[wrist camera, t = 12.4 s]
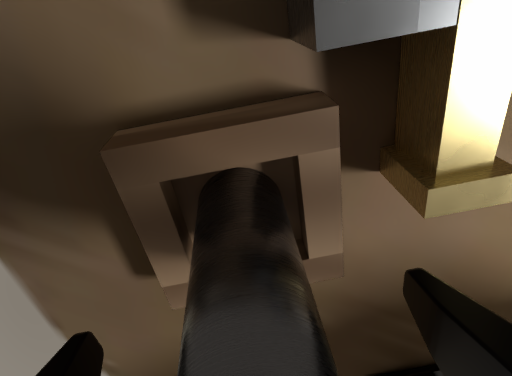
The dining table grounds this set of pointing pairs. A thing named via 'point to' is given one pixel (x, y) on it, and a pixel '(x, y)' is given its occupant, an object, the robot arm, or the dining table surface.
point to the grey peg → (249, 287)
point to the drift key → (453, 113)
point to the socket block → (364, 20)
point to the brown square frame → (226, 157)
